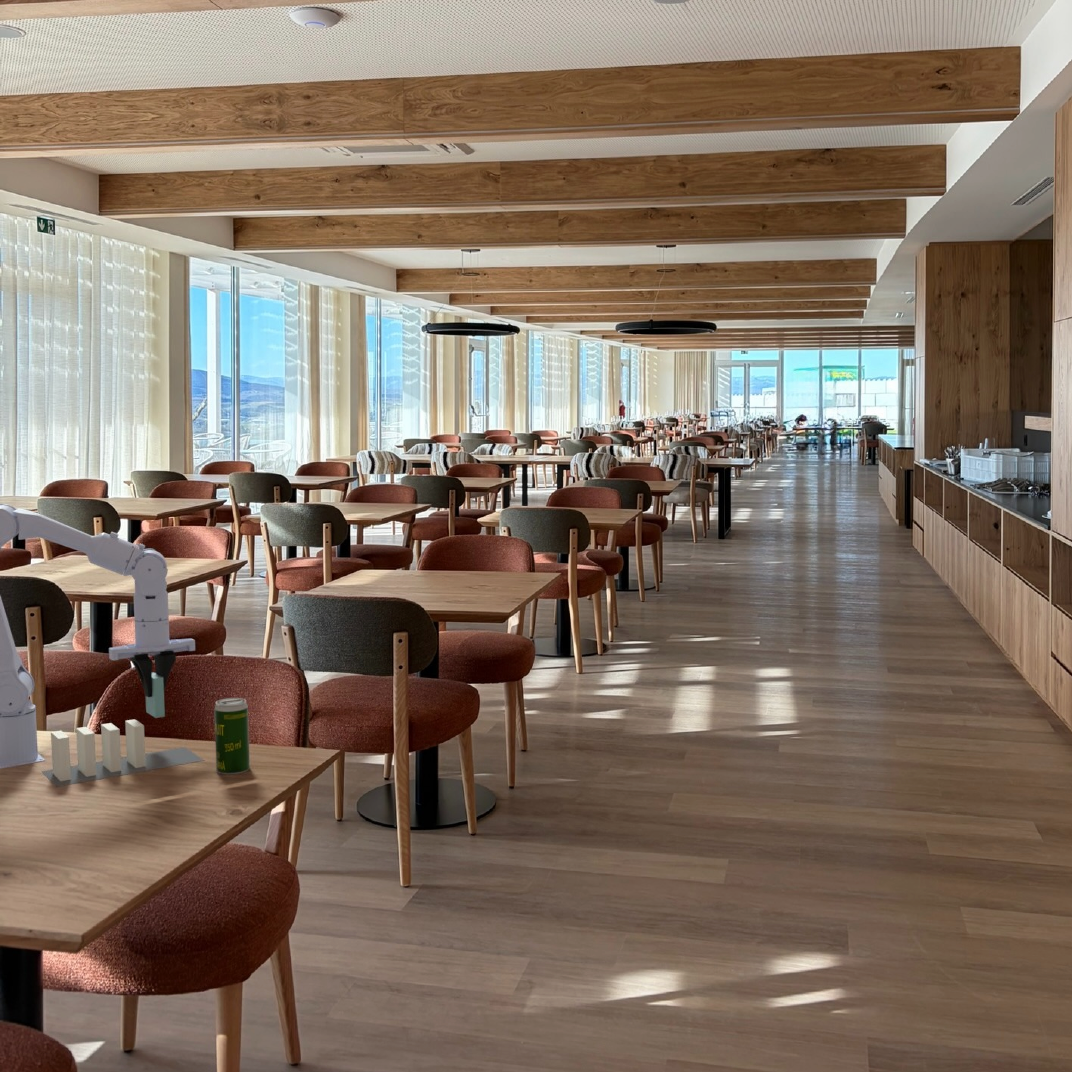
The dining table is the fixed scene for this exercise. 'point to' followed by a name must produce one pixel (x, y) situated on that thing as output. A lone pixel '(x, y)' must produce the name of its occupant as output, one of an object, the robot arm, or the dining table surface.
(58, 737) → the ivory domino
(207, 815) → the dining table surface
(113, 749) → the ivory domino
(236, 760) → the green drink can
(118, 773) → the charcoal mat
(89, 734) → the ivory domino
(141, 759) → the ivory domino
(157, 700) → the teal domino
